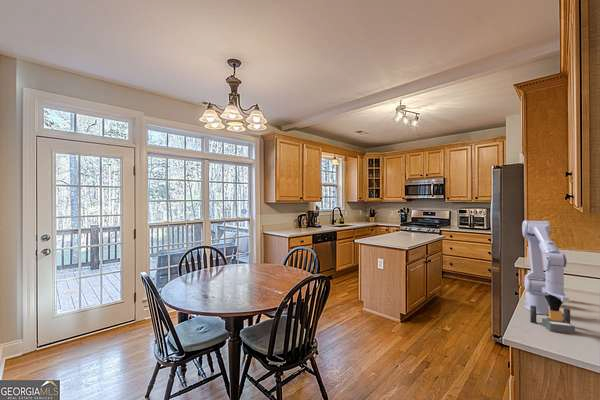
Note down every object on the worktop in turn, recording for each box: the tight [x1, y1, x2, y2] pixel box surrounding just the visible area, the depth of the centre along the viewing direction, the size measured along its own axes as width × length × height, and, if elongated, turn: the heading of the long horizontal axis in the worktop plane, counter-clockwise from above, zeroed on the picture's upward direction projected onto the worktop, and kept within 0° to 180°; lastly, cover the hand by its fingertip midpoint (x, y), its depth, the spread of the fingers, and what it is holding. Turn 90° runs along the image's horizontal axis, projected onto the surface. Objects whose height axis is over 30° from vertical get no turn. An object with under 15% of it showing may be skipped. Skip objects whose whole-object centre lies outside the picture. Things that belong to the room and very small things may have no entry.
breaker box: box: [541, 316, 576, 335], centre depth 114 cm, size 6×8×4 cm
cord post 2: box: [563, 308, 571, 324], centre depth 117 cm, size 2×2×7 cm
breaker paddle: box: [548, 309, 564, 321], centre depth 115 cm, size 1×4×4 cm, turn 74°
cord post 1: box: [529, 305, 537, 324], centre depth 121 cm, size 2×2×7 cm
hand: (554, 313), depth 116 cm, fingers closed, pressing on breaker paddle
